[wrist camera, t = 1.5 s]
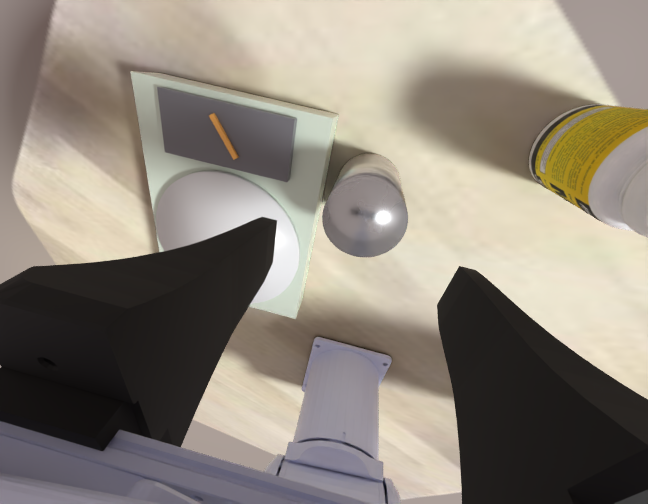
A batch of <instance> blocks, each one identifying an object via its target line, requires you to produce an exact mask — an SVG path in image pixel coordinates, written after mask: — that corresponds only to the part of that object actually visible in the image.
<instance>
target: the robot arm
mask: <svg viewBox="0 0 648 504" xmlns="http://www.w3.org/2000/svg"><path fill="white" fill-rule="evenodd" d="M276 227H277V220H273V219H270V218H266V217H260V218H257V219H255V220H252V221H250V222H248V223H246V224H243V225H241V226H239V227H236V228H234V229H232V230H229V231H227V232H224V233H222V234H219V235H216V236H214V237H211V238H208V239H206V240H203V241H200V242H197V243H194V244H191V245H187V246H183V247H180V248H176V249H172V250H168V251H163V252H158V253H153V254H148V255H143V256H138V257H132V258H125V259H119V260H111V261H102V262H93V263H82V264H67V265H53V266H34V267H31V268H29V269H27V270H25V271H23V272H21V273H20V274H18V275H16V276H15V277H13V278H11V279H9V280H7V281H5V282H4V283H2V284H0V365H1V366H2V367H1V368H0V504H401V499H400V495H399V492H398V490H397V489H396V487H395V486H394V484H393V482H392V480H391V479H389V478H383V462H382V461H379V386H380V384H381V382H382V380H383V378H384V376H385V374H386V372H387V370H388V368H389V366H390V364H391V362H392V358H391V357H390V356H388V355H385V354H381V353H377V352H373V351H370V350H366V349H362V348H359V347H355V346H351V345H348V344H344V343H340V342H336V341H333V340H329V339H325V338H322V337H316V338H315V339H314V342H313V346H312V350H311V354H310V358H309V362H308V366H307V370H306V374H305V378H304V382H303V385H302V391H303V392H305V394H304V398H303V403H302V407H301V411H300V415H299V419H298V423H297V427H296V431H295V436H294V440H293V442H289V443H288V447H287V451H286V455H285V456H284V455H281V454H278V455H277V456H276V457H275V458H274V459H273V460H272V461H271V462H269V464H268V465H267V467H266V469H265V471H264V472H263V471H260V470H256V469H253V468H250V467H246V466H243V465H239V464H236V463H233V462H229V461H226V460H222V459H219V458H215V457H212V456H209V455H205V454H202V453H198V452H195V451H191V450H188V449H185V448H181V445H182V443H183V440H184V438H185V435H186V433H187V431H188V428H189V426H190V423H191V421H192V419H193V417H194V414H195V412H196V410H197V407H198V405H199V403H200V401H201V398H202V396H203V394H204V392H205V389H206V387H207V385H208V383H209V381H210V378H211V376H212V374H213V372H214V370H215V368H216V366H217V363H218V361H219V359H220V357H221V355H222V353H223V351H224V349H225V347H226V345H227V343H228V341H229V339H230V337H231V335H232V333H233V331H234V329H235V328H236V326H237V324H238V323H239V321H240V319H241V318H242V316H243V315H244V313H245V312H246V310H247V308H248V307H249V305H250V304H251V302H252V301H253V299H254V297H255V296H256V294H257V293H258V291H259V289H260V288H261V286H262V285H263V283H264V281H265V279H266V277H267V275H268V272H269V270H270V268H271V266H272V263H273V257H274V247H275V237H276ZM437 309H438V324H439V331H440V335H441V340H442V344H443V349H444V353H445V357H446V361H447V366H448V370H449V374H450V378H451V383H452V388H453V393H454V401H455V409H456V418H457V427H458V438H459V450H460V466H461V483H462V504H648V400H647V399H646V398H644V397H642V396H641V395H639V394H637V393H636V392H634V391H632V390H631V389H629V388H628V387H626V386H624V385H623V384H621V383H620V382H618V381H617V380H615V379H614V378H612V377H610V376H609V375H607V374H606V373H604V372H603V371H601V370H600V369H598V368H597V367H595V366H594V365H592V364H591V363H589V362H588V361H586V360H585V359H583V358H582V357H581V356H579V355H578V354H577V353H575V352H574V351H572V350H571V349H570V348H568V347H567V346H566V345H564V344H563V343H561V342H560V341H559V340H558V339H556V338H555V337H554V336H552V335H551V334H550V333H549V332H547V331H546V330H545V329H544V328H542V327H541V326H540V325H539V324H538V323H536V322H535V321H534V320H533V319H532V318H530V317H529V316H528V315H527V314H526V313H525V312H523V311H522V310H521V309H520V308H519V307H518V306H517V305H515V304H514V303H513V302H512V301H511V300H510V299H509V298H508V297H507V296H505V295H504V294H503V293H502V292H501V291H500V290H499V289H498V288H497V287H495V286H494V285H493V284H492V283H491V282H490V281H489V280H487V279H486V278H485V277H484V276H483V275H481V274H480V273H479V272H477V271H476V270H473V269H469V268H465V267H461V266H459V268H458V270H457V271H456V273H455V275H454V276H453V278H452V280H451V282H450V283H449V285H448V287H447V289H446V290H445V292H444V294H443V296H442V297H441V299H440V301H439V302H438V304H437ZM317 344H318V345H317Z"/></svg>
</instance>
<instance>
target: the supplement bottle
mask: <svg viewBox="0 0 648 504" xmlns="http://www.w3.org/2000/svg"><path fill="white" fill-rule="evenodd" d="M529 168H530V172H531V174H532V176H533V177H534V179H535V180H536V181H537V182H538V183H539V184H541V185H542V186H544V187H545V188H547V189H548V190H550V191H552V192H554V193H555V194H557V195H559V196H560V197H562V198H564V199H565V200H566V201H568V202H570V203H572V204H573V205H575V206H577V207H578V208H580V209H582V210H583V211H585V212H586V213H588V214H590V215H591V216H593V217H594V218H596V219H597V220H599V221H601V222H603V223H605V224H607V225H610V226H612V227H615V228H618V229H624V230H632V231H635V232H637V233H638V234H641V235H643V236H646V237H648V109H643V108H632V107H622V106H611V105H602V104H595V105H586V106H581V107H578V108H575V109H572V110H569V111H567V112H565V113H563V114H562V115H560V116H558V117H557V118H555V119H554V120H553V121H552V122H550V123H549V124H548V125H547V126H546V127H545V128H544V129H543V130H542V131H541V133H540V134H539V135H538V137H537V138H536V140H535V142H534V144H533V146H532V149H531V152H530V156H529Z"/></svg>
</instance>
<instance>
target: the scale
mask: <svg viewBox="0 0 648 504" xmlns="http://www.w3.org/2000/svg"><path fill="white" fill-rule="evenodd" d="M130 72H131V79H132V85H133V91H134V97H135V103H136V110H137V116H138V122H139V128H140V134H141V141H142V147H143V153H144V159H145V165H146V172H147V178H148V184H149V190H150V196H151V203H152V209H153V215H154V221H155V227H156V234H157V240H158V246H159V252H163V251H168V250H172V249H176V248H180V247H183V246H187V245H191V244H194V243H197V242H200V241H203V240H206V239H208V238H211V237H214V236H216V235H219V234H222V233H224V232H227V231H229V230H232V229H234V228H236V227H239V226H241V225H243V224H246V223H248V222H250V221H252V220H255V219H257V218H260V217H266V218H270V219H273V220H277V227H276V237H275V247H274V257H273V263H272V266H271V268H270V270H269V272H268V275H267V277H266V279H265V281H264V283H263V285H262V286H261V288H260V289H259V291H258V293H257V294H256V296H255V297H254V299H253V301H252V302H251V304H250V305H249V307H252V308H256V309H260V310H264V311H267V312H271V313H275V314H278V315H282V316H286V317H290V318H293V319H296V316H297V313H298V311H299V308H300V305H301V302H302V299H303V294H304V289H305V284H306V279H307V274H308V268H309V263H310V258H311V253H312V248H313V243H314V238H315V233H316V228H317V223H318V218H319V213H320V207H321V202H322V197H323V192H324V187H325V182H326V177H327V172H328V167H329V162H330V157H331V151H332V146H333V141H334V136H335V131H336V126H337V121H338V116H339V114H335V113H331V112H326V111H322V110H318V109H313V108H309V107H305V106H300V105H296V104H292V103H287V102H283V101H279V100H274V99H270V98H266V97H262V96H257V95H253V94H249V93H244V92H240V91H236V90H231V89H227V88H223V87H218V86H214V85H210V84H205V83H201V82H197V81H193V80H188V79H184V78H180V77H175V76H171V75H167V74H162V73H153V72H136V71H130Z"/></svg>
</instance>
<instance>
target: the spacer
mask: <svg viewBox="0 0 648 504" xmlns="http://www.w3.org/2000/svg"><path fill="white" fill-rule="evenodd" d="M322 218H323V227H324V230H325V233H326V235H327V237H328V238H329V240H330V241H331V242H332V243H333V244H334V245H335V246H336V247H337V248H338V249H340V250H341V251H343V252H345V253H347V254H350V255H353V256H357V257H374V256H378V255H381V254H384V253H386V252H388V251H389V250H391V249H392V248H394V247H395V246H396V245H397V244H398V243H399V242H400V240H401V239H402V237H403V236H404V234H405V231H406V228H407V224H408V213H407V208H406V203H405V199H404V194H403V190H402V185H401V181H400V176H399V173H398V171H397V169H396V167H395V166H394V164H393V163H392V162H391V161H390V160H388V159H387V158H385V157H383V156H381V155H378V154H372V153H367V154H361V155H358V156H356V157H354V158H352V159H351V160H349V161H348V162H347V163H346V164H345V165H344V166H343V168H342V169H341V171H340V173H339V175H338V177H337V180H336V182H335V184H334V186H333V188H332V191H331V193H330V195H329V197H328V199H327V202H326V204H325V206H324V210H323V216H322Z"/></svg>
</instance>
